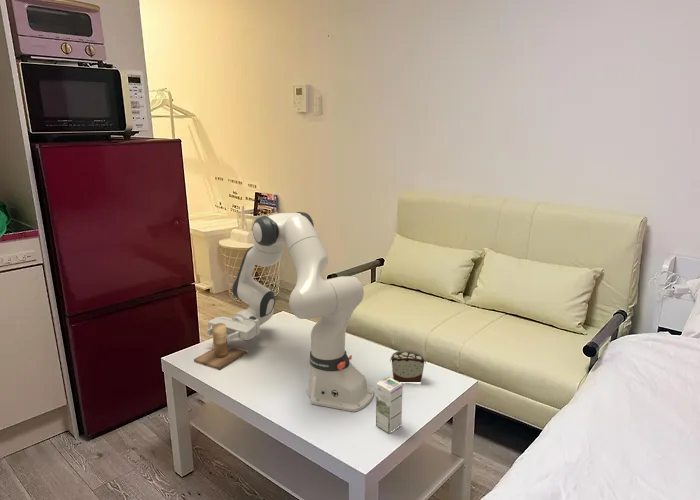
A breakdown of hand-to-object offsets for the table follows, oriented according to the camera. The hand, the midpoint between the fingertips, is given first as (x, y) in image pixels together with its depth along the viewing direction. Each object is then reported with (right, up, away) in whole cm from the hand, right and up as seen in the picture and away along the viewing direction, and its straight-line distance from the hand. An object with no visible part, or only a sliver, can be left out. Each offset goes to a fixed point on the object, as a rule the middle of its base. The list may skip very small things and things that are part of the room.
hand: (217, 335), depth 189 cm
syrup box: (+61, -21, -38) cm, 75 cm away
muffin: (+69, -13, -12) cm, 72 cm away
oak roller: (0, -8, +3) cm, 9 cm away
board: (0, -9, +3) cm, 10 cm away
